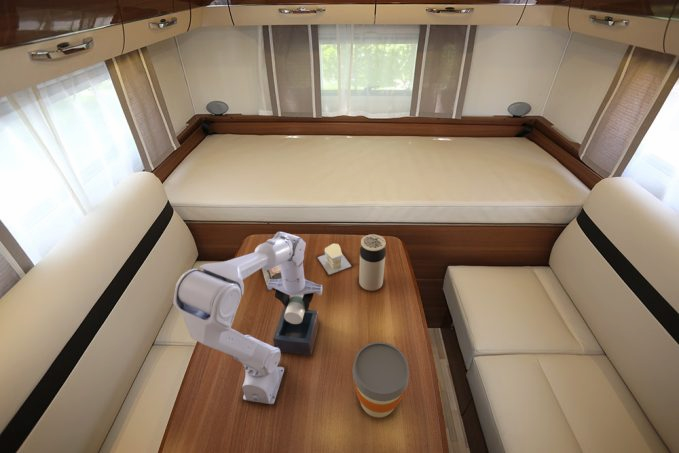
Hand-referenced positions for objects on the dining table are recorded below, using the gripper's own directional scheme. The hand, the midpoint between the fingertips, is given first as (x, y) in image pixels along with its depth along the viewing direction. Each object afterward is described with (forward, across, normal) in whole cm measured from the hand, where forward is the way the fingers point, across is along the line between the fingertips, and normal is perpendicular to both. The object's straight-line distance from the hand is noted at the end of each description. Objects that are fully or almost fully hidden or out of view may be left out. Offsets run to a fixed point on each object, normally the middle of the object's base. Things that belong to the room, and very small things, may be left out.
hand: (297, 307), depth 93 cm
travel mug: (+10, -19, -21) cm, 30 cm away
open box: (+9, 0, +3) cm, 10 cm away
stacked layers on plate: (+10, -5, -29) cm, 31 cm away
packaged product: (+10, +15, -23) cm, 29 cm away
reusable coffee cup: (+10, -24, +17) cm, 31 cm away
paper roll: (-1, 0, 0) cm, 1 cm away
